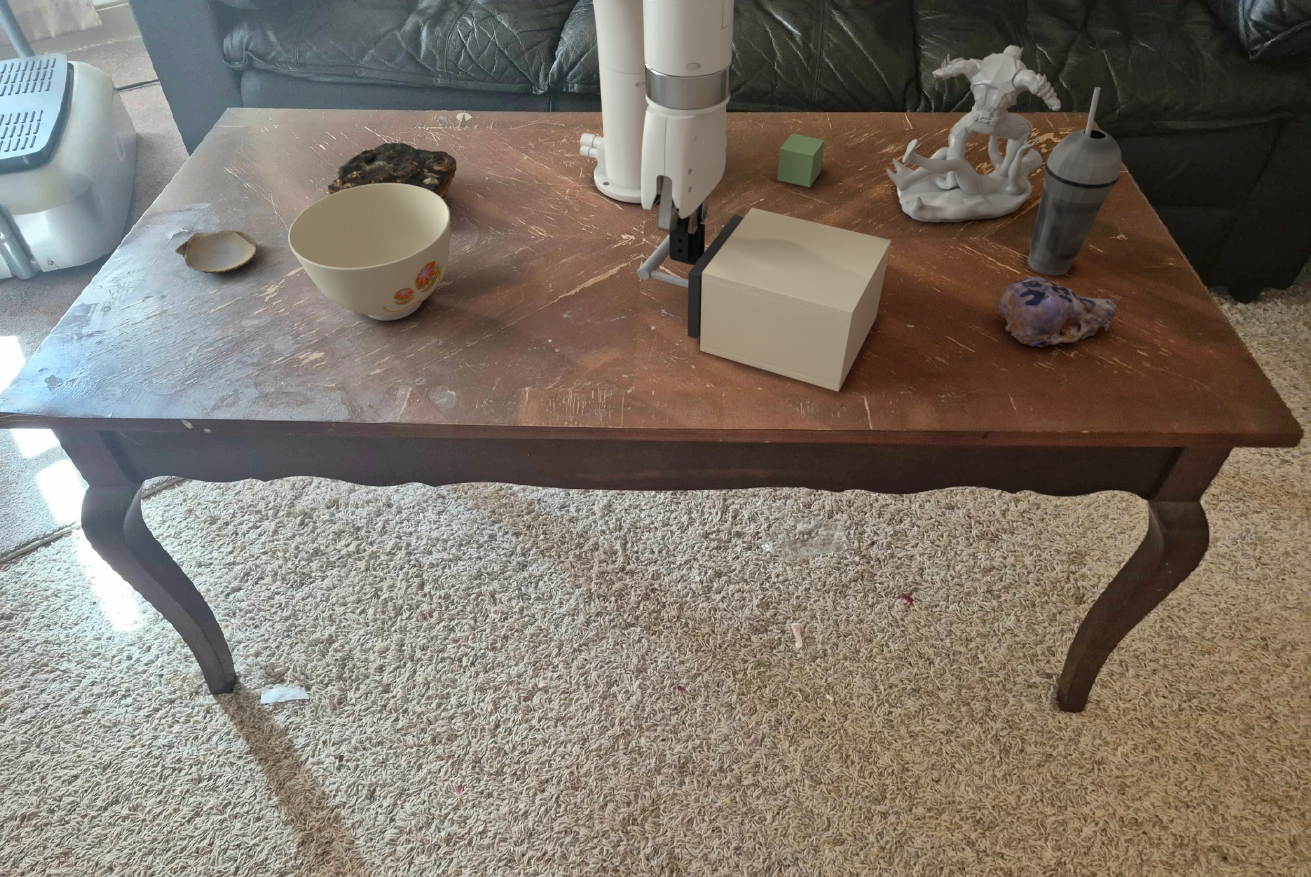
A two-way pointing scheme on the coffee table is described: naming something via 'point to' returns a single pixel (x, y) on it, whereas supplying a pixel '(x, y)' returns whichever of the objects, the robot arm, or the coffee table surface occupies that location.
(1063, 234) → the beverage cup
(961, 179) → the figurine
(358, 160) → the fossil rock
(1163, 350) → the coffee table surface
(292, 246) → the bowl
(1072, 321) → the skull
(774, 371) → the cream drawer box
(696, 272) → the dark grey drawer
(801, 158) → the block
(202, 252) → the seashell
